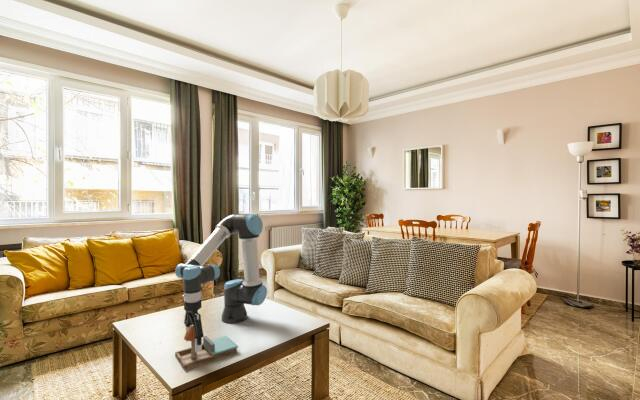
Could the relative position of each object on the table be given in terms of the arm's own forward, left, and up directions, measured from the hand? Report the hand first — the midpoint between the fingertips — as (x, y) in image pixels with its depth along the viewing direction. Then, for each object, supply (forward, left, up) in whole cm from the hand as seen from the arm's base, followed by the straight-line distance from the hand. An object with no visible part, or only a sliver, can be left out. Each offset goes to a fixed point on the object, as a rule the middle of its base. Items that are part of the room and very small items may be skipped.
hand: (193, 345), depth 151 cm
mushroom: (0, 0, -6) cm, 6 cm away
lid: (0, +12, -4) cm, 13 cm away
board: (0, +7, -6) cm, 9 cm away
